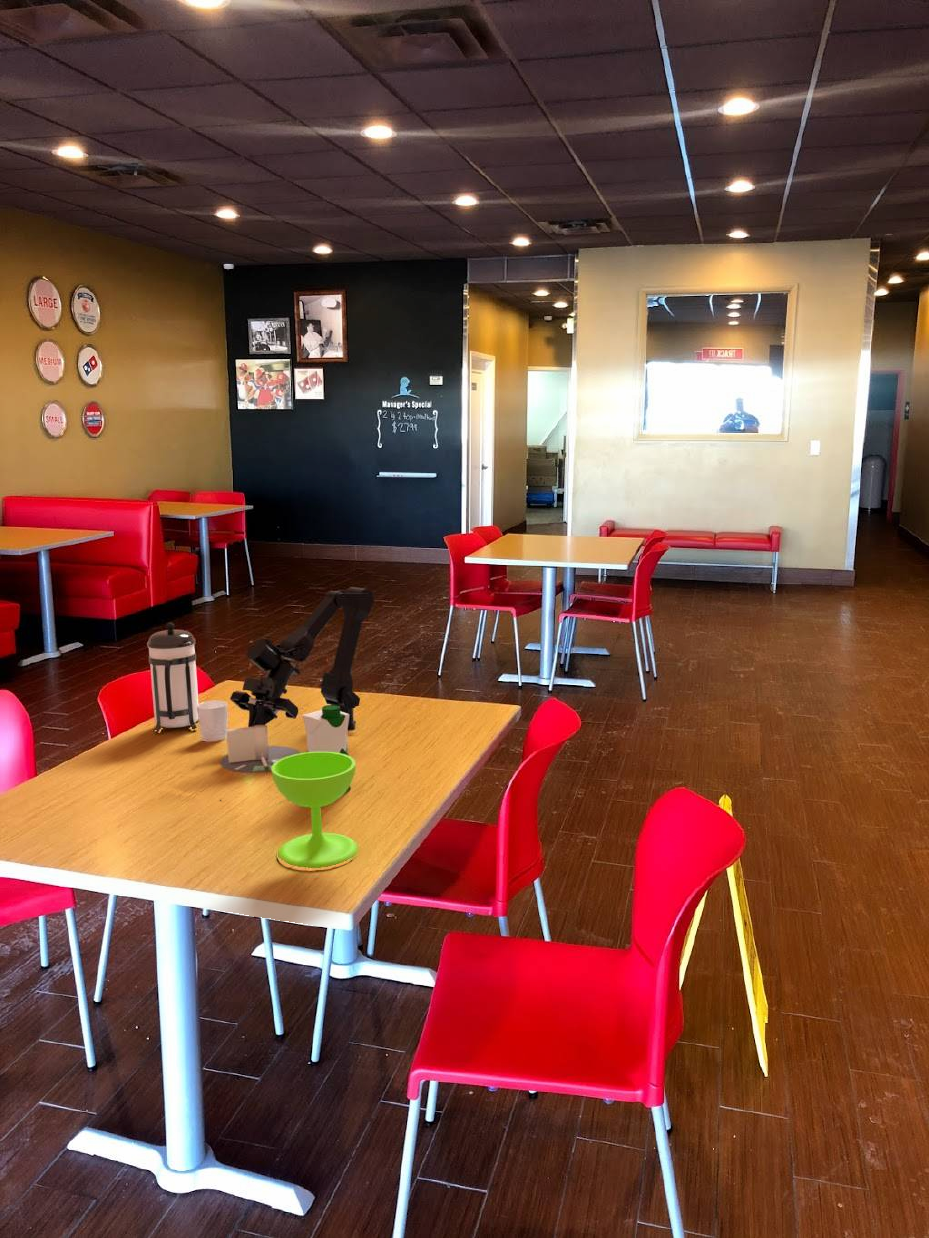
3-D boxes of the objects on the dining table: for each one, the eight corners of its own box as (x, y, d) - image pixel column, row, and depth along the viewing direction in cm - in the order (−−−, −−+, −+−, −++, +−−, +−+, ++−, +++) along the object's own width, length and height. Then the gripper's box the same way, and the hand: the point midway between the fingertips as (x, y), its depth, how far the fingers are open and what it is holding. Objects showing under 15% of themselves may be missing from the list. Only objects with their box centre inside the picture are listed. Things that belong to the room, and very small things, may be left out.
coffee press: (136, 729, 267) (127, 624, 261) (185, 716, 279) (178, 615, 273) (171, 741, 256) (162, 631, 250) (221, 727, 268) (214, 622, 262)
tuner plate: (318, 756, 242) (318, 752, 242) (264, 781, 226) (264, 777, 225) (259, 744, 252) (259, 740, 252) (203, 767, 236) (202, 763, 235)
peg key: (267, 754, 241) (266, 723, 240) (274, 769, 230) (272, 737, 229) (228, 759, 238) (225, 728, 236) (233, 774, 227) (230, 742, 226)
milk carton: (325, 799, 214) (321, 713, 210) (301, 789, 220) (297, 705, 216) (356, 789, 220) (353, 705, 216) (332, 779, 226) (328, 697, 222)
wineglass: (262, 849, 188) (257, 762, 185) (335, 829, 197) (331, 746, 194) (298, 879, 176) (293, 786, 172) (374, 856, 185) (371, 767, 181)
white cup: (193, 743, 254) (190, 707, 253) (211, 734, 262) (208, 699, 260) (217, 746, 252) (215, 709, 250) (235, 737, 259) (233, 701, 257)
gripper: (232, 660, 246) (203, 713, 239) (287, 668, 236) (260, 723, 229) (255, 682, 254) (228, 734, 247) (310, 691, 245) (284, 745, 238)
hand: (249, 733), depth 240 cm, fingers closed
